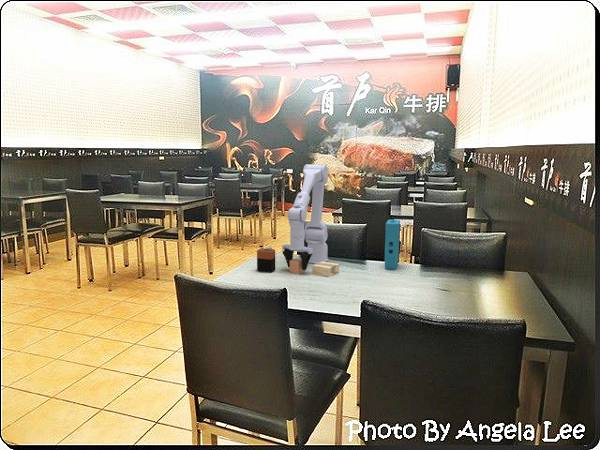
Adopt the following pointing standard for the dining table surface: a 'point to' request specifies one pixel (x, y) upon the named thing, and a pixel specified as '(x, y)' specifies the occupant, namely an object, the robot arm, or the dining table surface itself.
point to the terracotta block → (296, 266)
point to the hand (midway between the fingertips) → (297, 268)
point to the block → (392, 244)
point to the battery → (266, 260)
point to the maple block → (325, 269)
